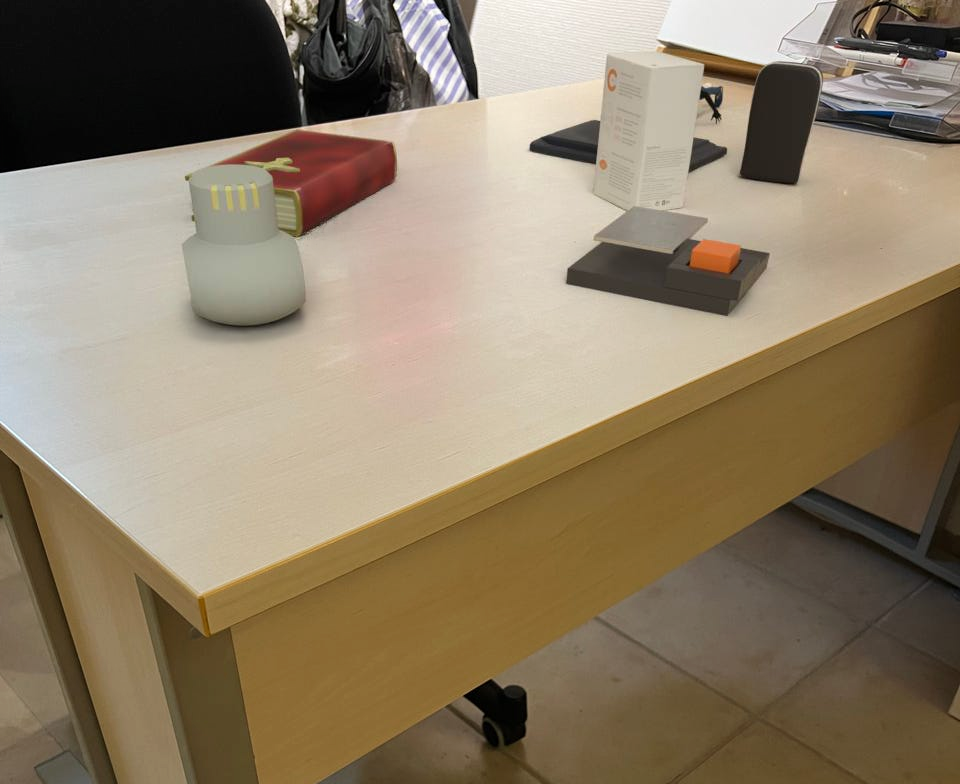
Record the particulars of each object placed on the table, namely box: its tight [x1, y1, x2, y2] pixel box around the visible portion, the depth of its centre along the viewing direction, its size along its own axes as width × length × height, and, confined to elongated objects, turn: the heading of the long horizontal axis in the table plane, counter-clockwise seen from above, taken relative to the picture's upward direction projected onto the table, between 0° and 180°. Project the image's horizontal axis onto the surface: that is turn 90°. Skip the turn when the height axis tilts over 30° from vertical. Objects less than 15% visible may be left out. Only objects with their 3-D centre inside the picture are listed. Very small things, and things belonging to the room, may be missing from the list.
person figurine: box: [699, 82, 724, 125], centre depth 130 cm, size 11×4×18 cm
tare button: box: [690, 238, 742, 274], centre depth 76 cm, size 3×3×2 cm
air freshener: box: [181, 165, 307, 327], centre depth 70 cm, size 11×8×10 cm
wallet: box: [528, 119, 728, 173], centre depth 114 cm, size 20×2×15 cm
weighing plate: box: [593, 206, 709, 255], centre depth 82 cm, size 7×10×1 cm
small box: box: [592, 50, 705, 212], centre depth 95 cm, size 8×6×13 cm
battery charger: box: [739, 60, 824, 184], centre depth 104 cm, size 7×4×11 cm, turn 66°
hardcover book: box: [184, 129, 398, 238], centre depth 95 cm, size 12×21×4 cm, turn 159°
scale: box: [565, 238, 770, 317], centre depth 81 cm, size 14×13×3 cm
